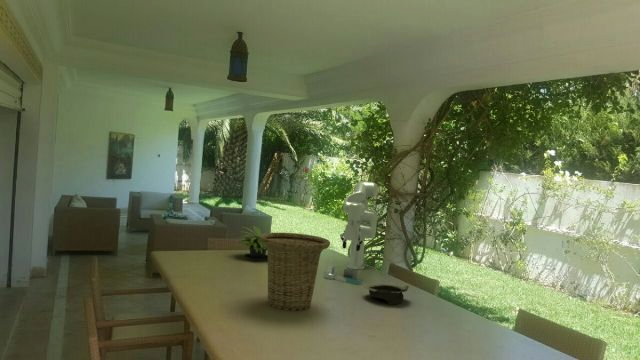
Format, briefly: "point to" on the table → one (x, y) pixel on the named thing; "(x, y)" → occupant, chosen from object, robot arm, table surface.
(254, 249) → the fern plant
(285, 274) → the wicker basket
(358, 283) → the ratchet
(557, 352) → the table surface
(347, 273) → the brushed grey cube
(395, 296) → the stone bowl
